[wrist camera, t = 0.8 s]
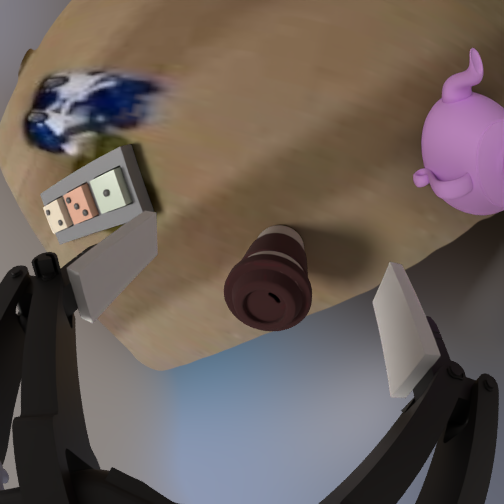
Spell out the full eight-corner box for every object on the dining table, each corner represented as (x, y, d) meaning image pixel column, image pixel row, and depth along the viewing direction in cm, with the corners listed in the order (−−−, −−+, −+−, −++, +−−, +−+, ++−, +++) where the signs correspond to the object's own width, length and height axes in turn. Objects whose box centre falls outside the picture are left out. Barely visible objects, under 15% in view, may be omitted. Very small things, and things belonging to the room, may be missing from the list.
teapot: (471, 48, 20) (523, 34, 8) (518, 175, 27) (569, 202, 15) (362, 92, 29) (390, 78, 17) (425, 228, 35) (463, 276, 23)
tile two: (52, 202, 46) (41, 208, 43) (66, 194, 44) (55, 200, 41) (62, 227, 48) (52, 234, 45) (77, 221, 46) (66, 228, 44)
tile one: (100, 176, 41) (88, 181, 38) (124, 165, 39) (112, 169, 36) (111, 208, 43) (100, 214, 40) (136, 199, 41) (124, 205, 39)
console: (49, 189, 46) (40, 194, 44) (131, 143, 39) (120, 146, 36) (68, 238, 51) (60, 244, 49) (153, 210, 44) (144, 217, 41)
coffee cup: (256, 276, 45) (232, 341, 32) (241, 220, 41) (207, 272, 28) (316, 271, 43) (315, 338, 30) (307, 211, 38) (304, 263, 25)
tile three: (73, 190, 43) (61, 196, 40) (91, 181, 42) (79, 186, 39) (84, 218, 46) (73, 225, 43) (103, 211, 44) (91, 218, 41)
